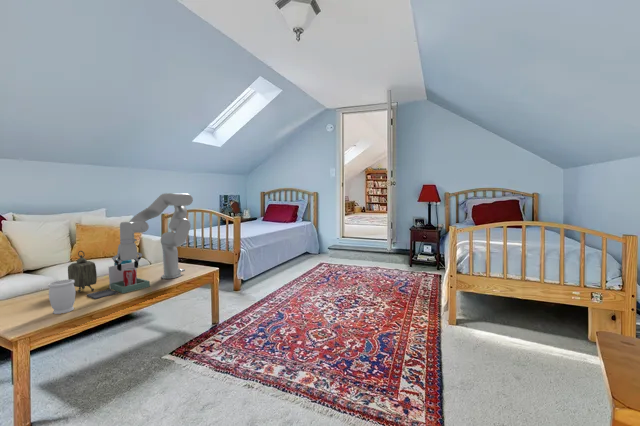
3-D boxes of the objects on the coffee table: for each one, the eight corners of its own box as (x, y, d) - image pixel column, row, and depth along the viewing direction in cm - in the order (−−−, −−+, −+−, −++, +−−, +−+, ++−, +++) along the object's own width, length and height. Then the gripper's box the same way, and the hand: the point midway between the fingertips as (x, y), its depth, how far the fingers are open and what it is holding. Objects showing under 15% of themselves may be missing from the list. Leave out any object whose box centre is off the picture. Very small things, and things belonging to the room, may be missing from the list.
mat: (109, 290, 194) (109, 289, 194) (118, 293, 187) (118, 292, 187) (86, 295, 184) (86, 294, 184) (95, 299, 178) (95, 297, 177)
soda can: (139, 286, 201) (138, 268, 200) (129, 290, 194) (128, 270, 193) (131, 285, 203) (130, 267, 202) (121, 289, 196) (119, 269, 196)
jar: (60, 307, 165) (58, 279, 164) (81, 307, 166) (79, 278, 165) (44, 315, 154) (42, 285, 153) (67, 314, 155) (64, 284, 154)
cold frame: (136, 282, 210) (135, 261, 209) (149, 286, 201) (148, 264, 200) (109, 288, 197) (108, 266, 196) (122, 293, 188) (121, 270, 187)
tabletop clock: (97, 290, 194) (95, 250, 192) (80, 295, 186) (78, 253, 184) (85, 287, 200) (82, 248, 199) (68, 291, 192) (65, 251, 191)
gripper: (138, 239, 206) (139, 266, 206) (109, 242, 191) (109, 270, 192) (144, 240, 202) (145, 267, 202) (114, 243, 187) (115, 272, 188)
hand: (128, 269), depth 197 cm, fingers open, 9 cm apart
